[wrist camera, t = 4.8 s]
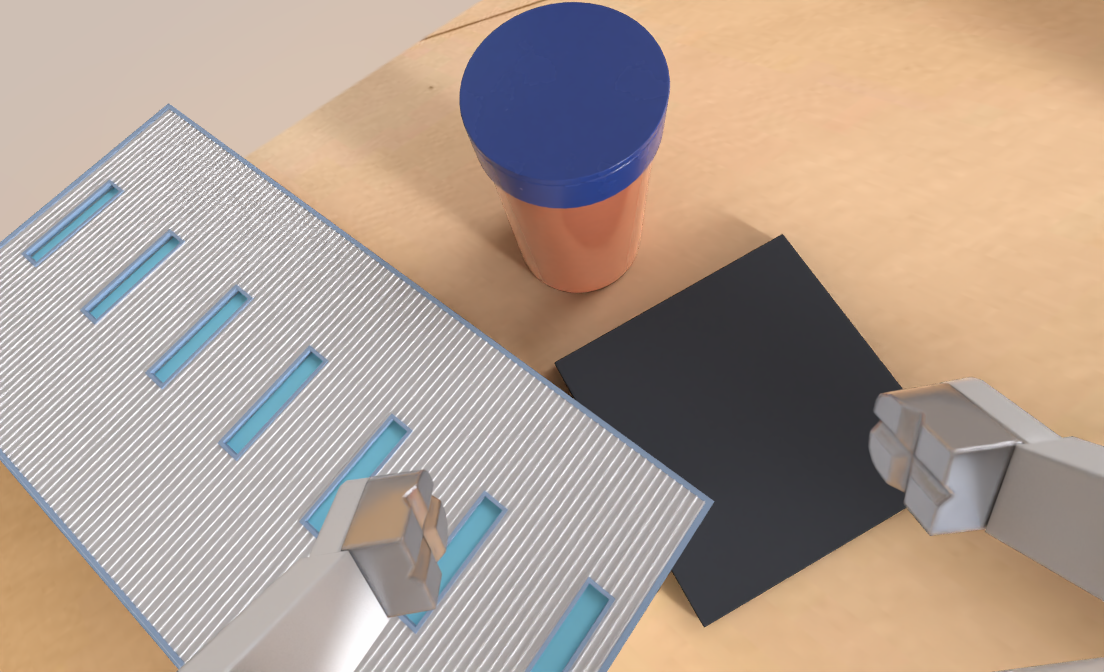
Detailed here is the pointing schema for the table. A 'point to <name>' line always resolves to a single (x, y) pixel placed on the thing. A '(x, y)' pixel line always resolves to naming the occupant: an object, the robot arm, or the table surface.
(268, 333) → the warehouse
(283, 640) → the robot arm
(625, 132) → the jam lid
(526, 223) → the jam jar
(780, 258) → the mat
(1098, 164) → the table surface
